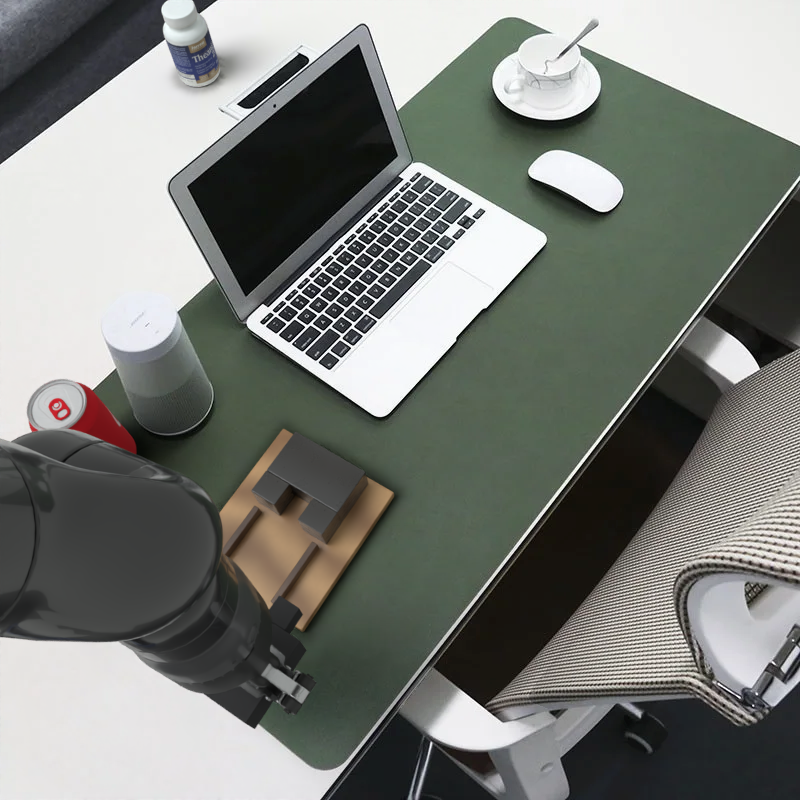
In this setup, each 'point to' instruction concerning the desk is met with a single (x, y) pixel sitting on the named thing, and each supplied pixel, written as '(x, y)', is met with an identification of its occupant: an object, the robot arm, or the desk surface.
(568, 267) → the desk surface
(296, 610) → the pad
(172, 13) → the pill bottle
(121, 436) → the beverage can
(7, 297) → the desk surface
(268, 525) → the dock
